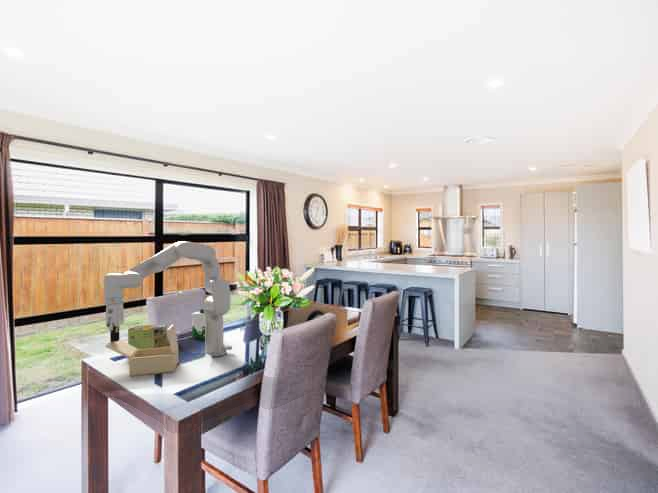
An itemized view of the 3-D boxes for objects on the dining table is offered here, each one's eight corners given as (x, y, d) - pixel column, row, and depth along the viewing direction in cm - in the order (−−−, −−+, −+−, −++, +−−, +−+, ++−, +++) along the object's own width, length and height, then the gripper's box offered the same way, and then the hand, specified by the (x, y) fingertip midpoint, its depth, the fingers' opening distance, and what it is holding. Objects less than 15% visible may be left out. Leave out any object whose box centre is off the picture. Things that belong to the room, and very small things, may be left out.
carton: (178, 362, 171) (178, 346, 171) (173, 372, 157) (173, 354, 157) (138, 366, 166) (137, 349, 166) (129, 376, 153) (129, 358, 153)
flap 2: (178, 345, 170) (173, 324, 170) (174, 353, 158) (169, 329, 158) (176, 346, 170) (171, 324, 169) (171, 353, 158) (166, 330, 158)
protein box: (154, 360, 174) (153, 329, 174) (127, 359, 177) (127, 328, 177) (167, 354, 185) (167, 325, 185) (142, 352, 188) (142, 324, 188)
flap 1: (137, 348, 165) (115, 337, 163) (130, 356, 154) (106, 344, 151) (136, 350, 165) (114, 339, 163) (129, 358, 154) (105, 346, 151)
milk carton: (203, 343, 215) (203, 310, 215) (189, 342, 216) (189, 310, 216) (210, 339, 223) (210, 308, 224) (197, 339, 225) (197, 308, 225)
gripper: (118, 302, 151) (118, 344, 151) (128, 298, 166) (129, 336, 166) (98, 303, 149) (99, 346, 149) (110, 298, 164) (111, 337, 164)
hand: (115, 341), depth 158 cm, fingers closed
